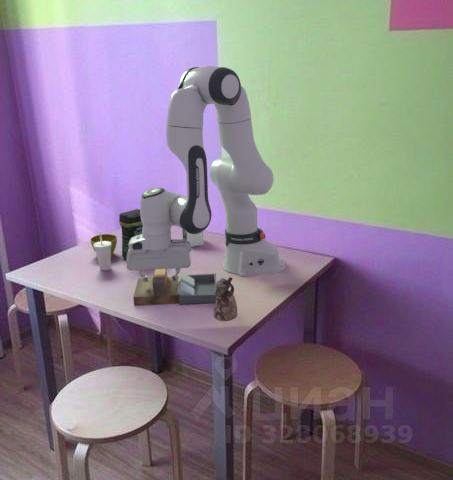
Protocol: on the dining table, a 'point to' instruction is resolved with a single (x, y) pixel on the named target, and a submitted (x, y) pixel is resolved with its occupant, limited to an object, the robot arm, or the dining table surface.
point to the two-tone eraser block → (159, 282)
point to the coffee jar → (129, 228)
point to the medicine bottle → (193, 238)
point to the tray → (201, 290)
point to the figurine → (225, 301)
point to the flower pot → (105, 237)
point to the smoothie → (103, 253)
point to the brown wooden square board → (146, 296)
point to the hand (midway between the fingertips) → (160, 280)
